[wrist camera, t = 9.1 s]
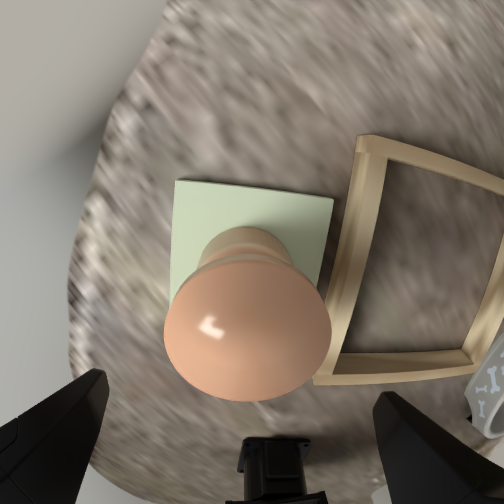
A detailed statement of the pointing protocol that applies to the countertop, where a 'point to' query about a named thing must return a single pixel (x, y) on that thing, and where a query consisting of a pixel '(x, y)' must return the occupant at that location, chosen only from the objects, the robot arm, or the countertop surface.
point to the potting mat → (246, 223)
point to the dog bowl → (488, 392)
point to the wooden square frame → (354, 261)
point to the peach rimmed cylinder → (247, 320)
